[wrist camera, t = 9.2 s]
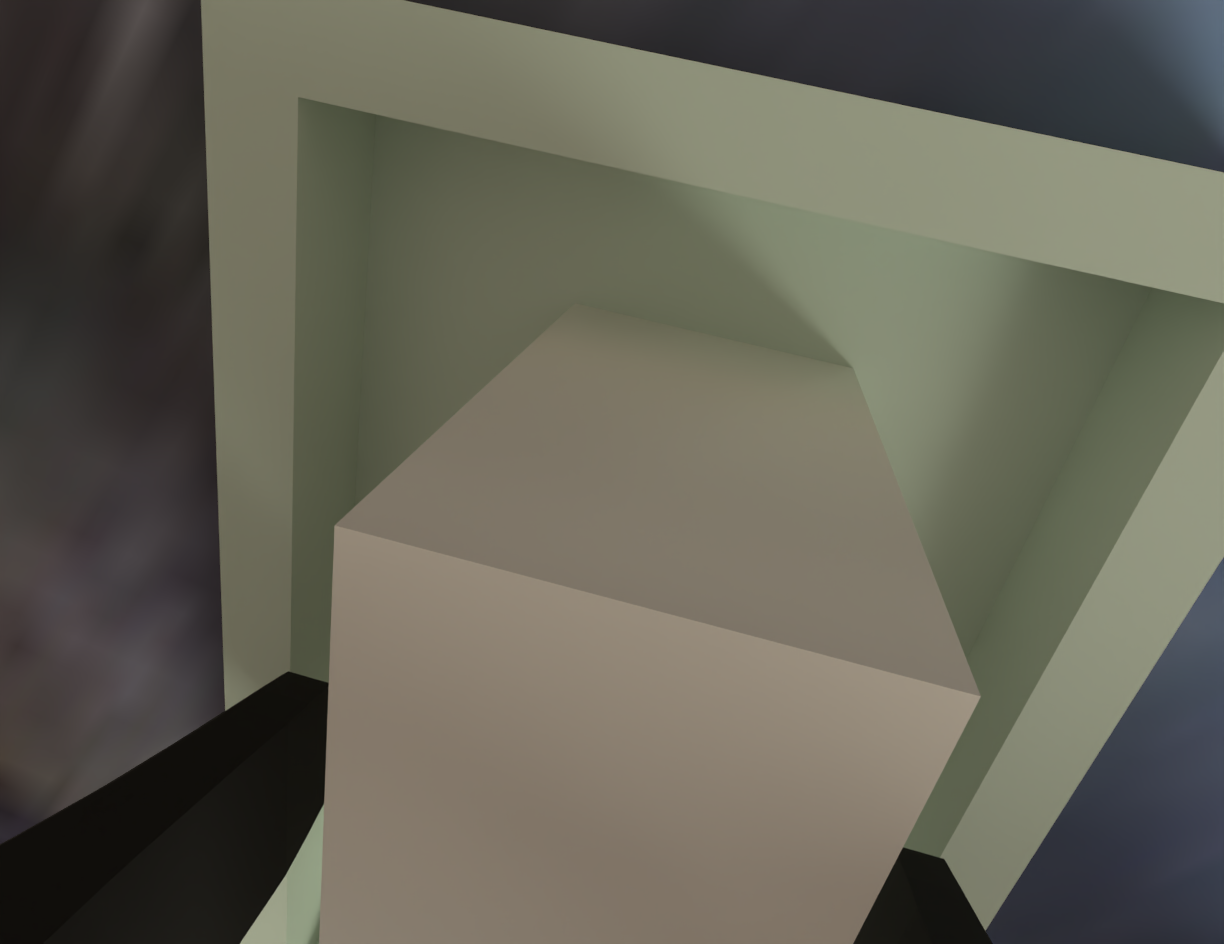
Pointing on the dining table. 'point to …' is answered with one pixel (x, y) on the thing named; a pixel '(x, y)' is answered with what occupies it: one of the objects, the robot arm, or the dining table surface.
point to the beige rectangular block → (634, 657)
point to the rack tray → (725, 307)
